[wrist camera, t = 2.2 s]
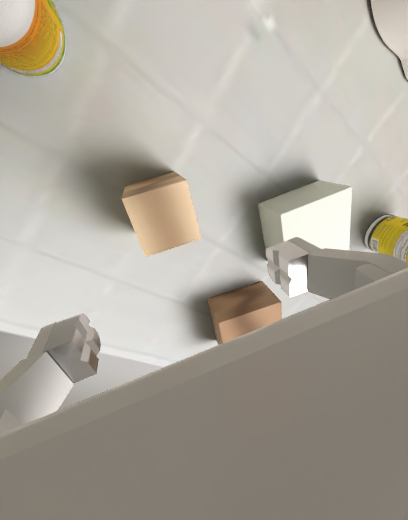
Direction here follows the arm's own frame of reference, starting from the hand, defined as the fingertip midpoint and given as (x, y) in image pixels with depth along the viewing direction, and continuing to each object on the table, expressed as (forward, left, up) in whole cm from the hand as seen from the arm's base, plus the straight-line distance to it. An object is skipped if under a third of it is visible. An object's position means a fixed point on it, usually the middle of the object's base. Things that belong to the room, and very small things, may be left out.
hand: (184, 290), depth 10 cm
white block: (-15, +7, -16) cm, 23 cm away
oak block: (0, 0, -16) cm, 16 cm away
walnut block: (-6, +18, -16) cm, 25 cm away
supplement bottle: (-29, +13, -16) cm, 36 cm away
